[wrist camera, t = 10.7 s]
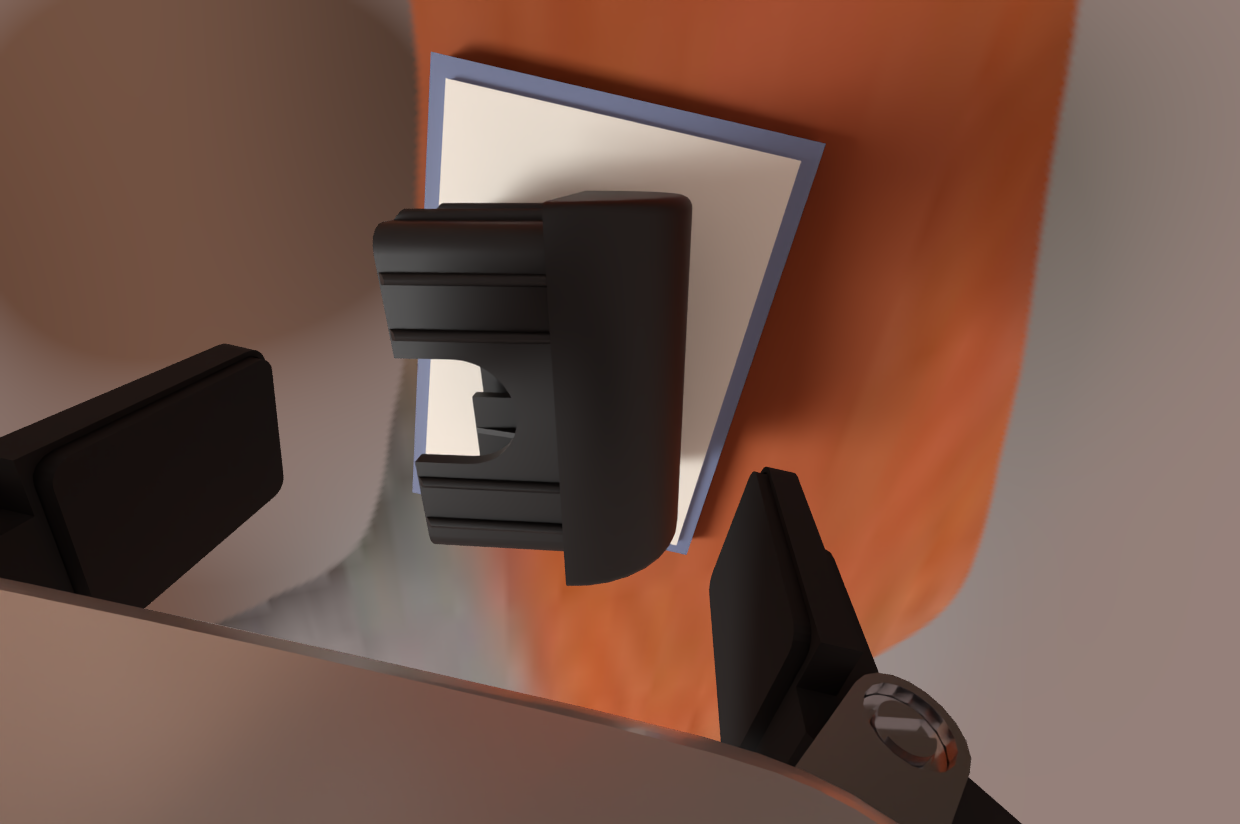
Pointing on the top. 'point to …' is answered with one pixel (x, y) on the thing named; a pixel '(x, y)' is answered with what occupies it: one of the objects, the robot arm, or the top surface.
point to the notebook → (622, 161)
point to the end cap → (552, 368)
